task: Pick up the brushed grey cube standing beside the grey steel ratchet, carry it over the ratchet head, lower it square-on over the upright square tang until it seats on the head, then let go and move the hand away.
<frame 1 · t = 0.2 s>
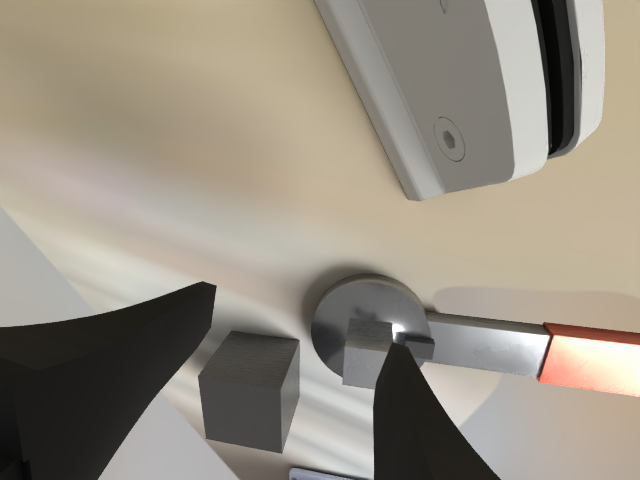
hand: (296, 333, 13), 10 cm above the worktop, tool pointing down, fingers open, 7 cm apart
white electronic device: (414, 35, 17), on the worktop
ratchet: (369, 324, 23), on the worktop
brushed grey cube: (265, 364, 26), on the worktop
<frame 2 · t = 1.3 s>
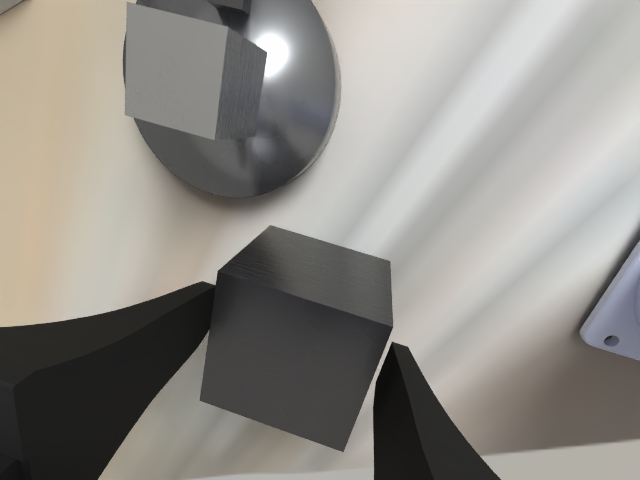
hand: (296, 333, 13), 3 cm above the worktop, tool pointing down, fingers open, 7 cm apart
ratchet: (242, 91, 13), on the worktop
brushed grey cube: (314, 295, 15), on the worktop
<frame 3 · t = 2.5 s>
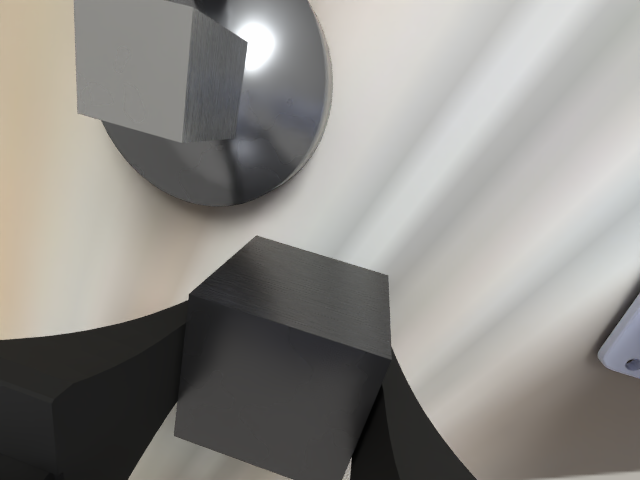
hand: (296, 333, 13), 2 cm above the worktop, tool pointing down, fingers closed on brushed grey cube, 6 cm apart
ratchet: (222, 87, 12), on the worktop
brushed grey cube: (305, 311, 14), on the worktop, touching gripper
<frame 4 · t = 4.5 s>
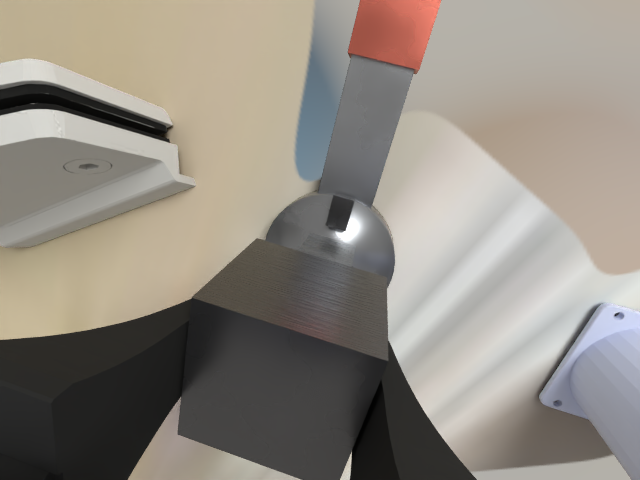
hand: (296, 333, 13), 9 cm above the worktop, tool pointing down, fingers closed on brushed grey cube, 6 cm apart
white electronic device: (82, 167, 23), on the worktop
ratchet: (331, 250, 21), on the worktop
brushed grey cube: (305, 312, 14), point 7 cm above the worktop, touching gripper
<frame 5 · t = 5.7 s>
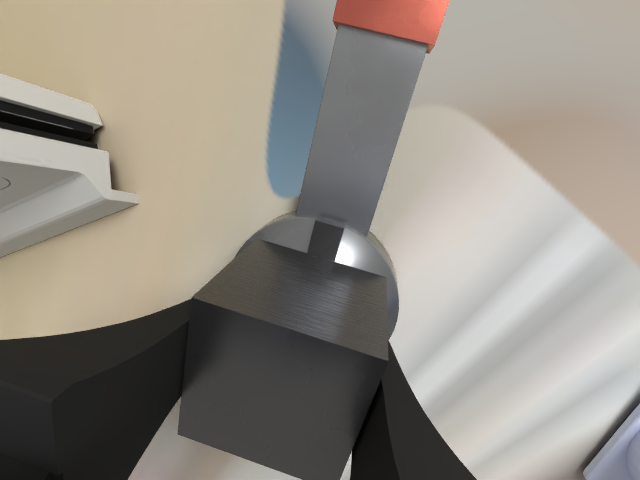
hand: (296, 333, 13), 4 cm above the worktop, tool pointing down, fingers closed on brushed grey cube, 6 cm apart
white electronic device: (1, 179, 18), on the worktop
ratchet: (316, 286, 16), on the worktop
brushed grey cube: (305, 312, 14), point 2 cm above the worktop, touching gripper
when the fingers open (4 cm above the worktop, at t = 6.6 s): brushed grey cube stays where it is, resting on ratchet.
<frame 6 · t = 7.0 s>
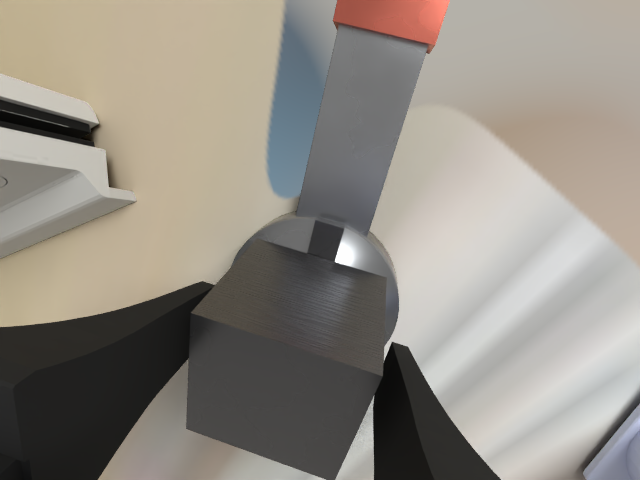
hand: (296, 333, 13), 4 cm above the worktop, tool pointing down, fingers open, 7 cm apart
white electronic device: (0, 180, 18), on the worktop
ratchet: (316, 286, 16), on the worktop
brushed grey cube: (307, 309, 15), point 2 cm above the worktop, tilted 7°, touching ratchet
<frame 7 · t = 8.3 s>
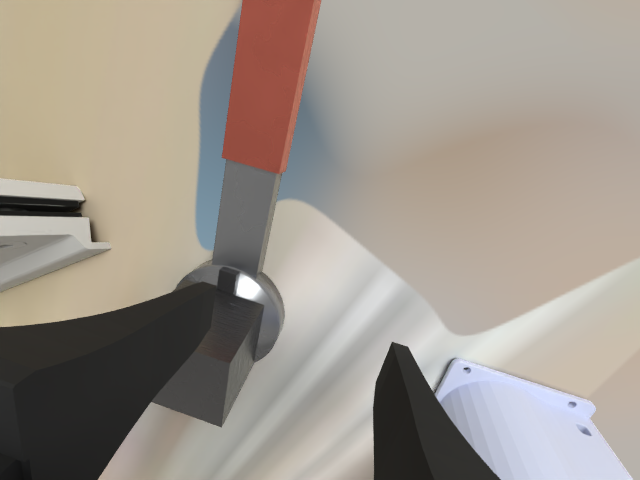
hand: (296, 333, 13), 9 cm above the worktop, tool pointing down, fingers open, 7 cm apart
white electronic device: (18, 232, 26), on the worktop
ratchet: (233, 307, 24), on the worktop
brushed grey cube: (221, 323, 23), point 2 cm above the worktop, tilted 7°, touching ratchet
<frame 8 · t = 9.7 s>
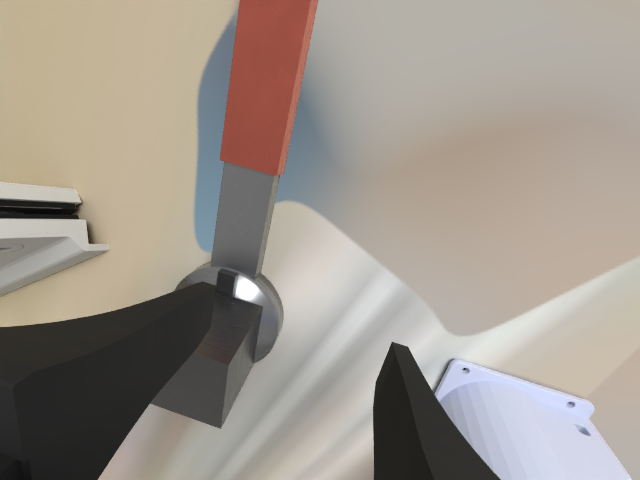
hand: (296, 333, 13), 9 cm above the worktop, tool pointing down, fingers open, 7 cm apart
white electronic device: (16, 236, 26), on the worktop
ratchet: (232, 308, 24), on the worktop
brushed grey cube: (220, 324, 23), point 2 cm above the worktop, tilted 7°, touching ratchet
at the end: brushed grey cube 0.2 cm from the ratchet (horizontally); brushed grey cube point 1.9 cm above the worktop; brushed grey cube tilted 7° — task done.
